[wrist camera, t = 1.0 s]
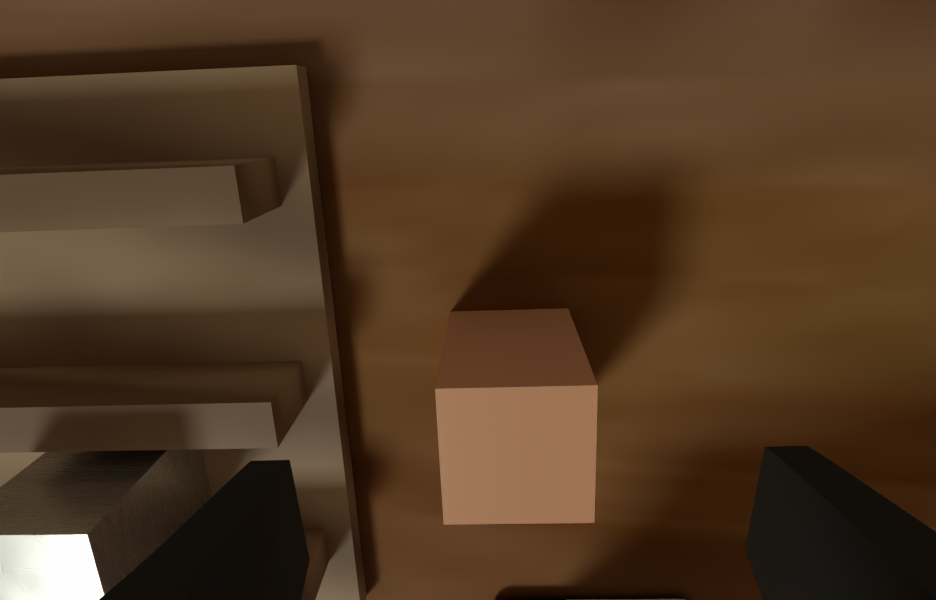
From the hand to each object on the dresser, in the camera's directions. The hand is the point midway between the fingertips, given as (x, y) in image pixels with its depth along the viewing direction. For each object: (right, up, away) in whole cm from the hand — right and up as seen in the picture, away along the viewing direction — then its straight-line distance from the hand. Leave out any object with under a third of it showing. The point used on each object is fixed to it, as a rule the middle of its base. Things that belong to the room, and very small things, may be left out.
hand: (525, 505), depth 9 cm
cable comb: (-12, +1, +12) cm, 18 cm away
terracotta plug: (+1, +1, +12) cm, 12 cm away
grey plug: (-12, -3, +12) cm, 18 cm away
